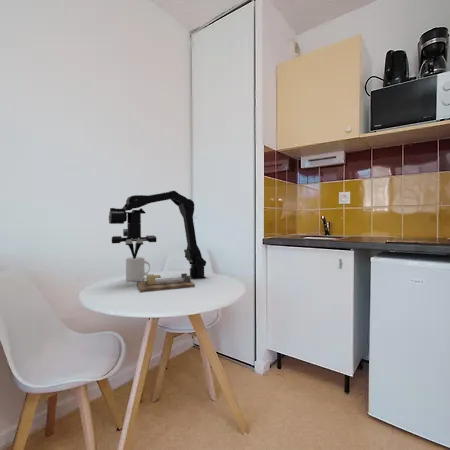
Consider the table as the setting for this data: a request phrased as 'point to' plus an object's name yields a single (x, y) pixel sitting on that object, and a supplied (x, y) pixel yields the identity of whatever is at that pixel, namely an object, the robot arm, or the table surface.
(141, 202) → the robot arm
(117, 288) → the table surface
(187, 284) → the base
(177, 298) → the table surface
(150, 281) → the gold t-shaped block
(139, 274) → the mug
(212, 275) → the table surface
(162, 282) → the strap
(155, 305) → the table surface
